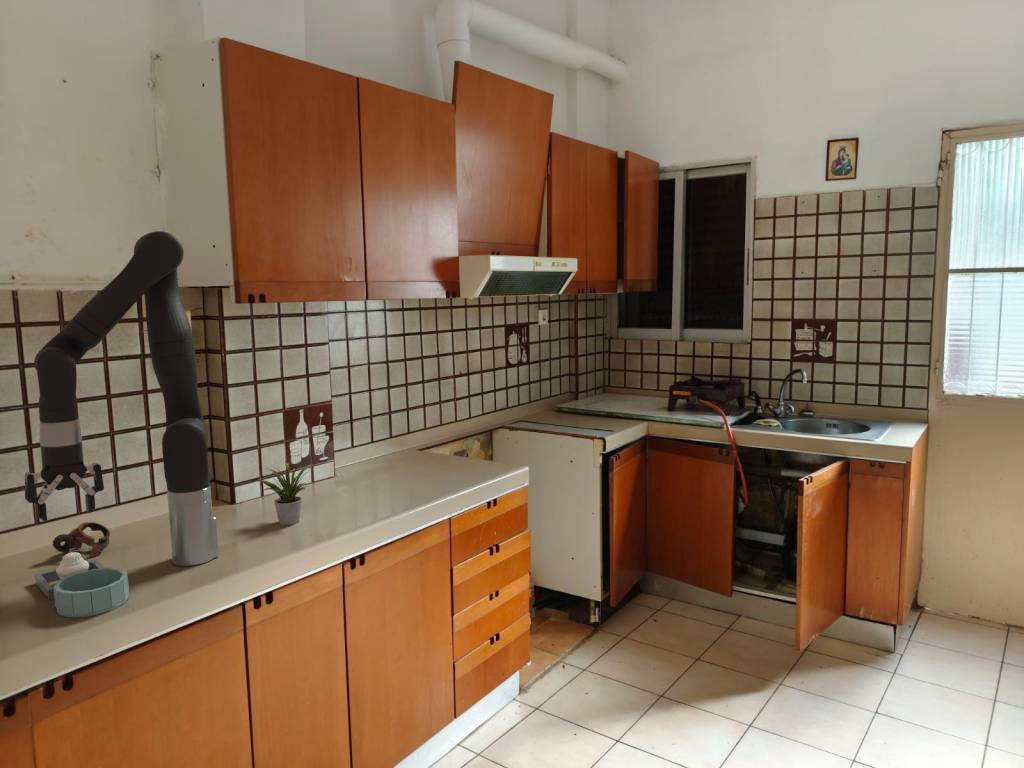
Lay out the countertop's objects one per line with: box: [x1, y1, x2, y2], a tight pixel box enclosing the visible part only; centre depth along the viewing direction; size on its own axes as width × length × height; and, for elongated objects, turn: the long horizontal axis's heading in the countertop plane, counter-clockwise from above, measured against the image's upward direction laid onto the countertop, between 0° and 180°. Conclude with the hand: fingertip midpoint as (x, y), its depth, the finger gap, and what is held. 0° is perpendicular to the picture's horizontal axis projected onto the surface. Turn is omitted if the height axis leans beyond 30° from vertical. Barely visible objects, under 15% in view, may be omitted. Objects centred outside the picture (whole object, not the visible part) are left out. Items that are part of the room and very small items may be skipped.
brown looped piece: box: [52, 521, 111, 557], centre depth 178 cm, size 12×10×8 cm
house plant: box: [258, 462, 314, 526], centre depth 201 cm, size 14×14×16 cm
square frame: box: [34, 559, 105, 601], centre depth 161 cm, size 12×12×2 cm
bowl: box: [52, 567, 130, 619], centre depth 150 cm, size 13×13×5 cm
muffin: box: [55, 551, 89, 580], centre depth 160 cm, size 6×6×7 cm
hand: (67, 515), depth 159 cm, fingers open, 8 cm apart
